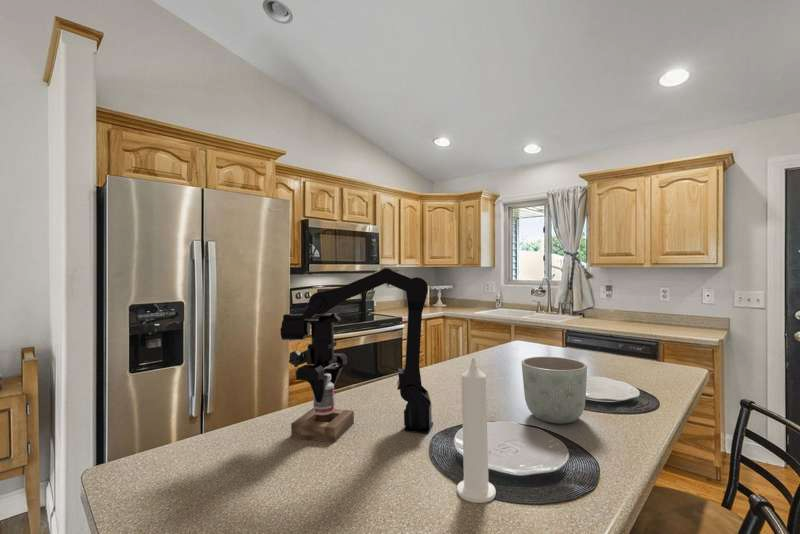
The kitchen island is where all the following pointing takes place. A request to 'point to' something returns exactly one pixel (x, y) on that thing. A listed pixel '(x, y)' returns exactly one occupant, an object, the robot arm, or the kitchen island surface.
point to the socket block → (322, 425)
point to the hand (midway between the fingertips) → (324, 398)
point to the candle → (475, 438)
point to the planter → (555, 388)
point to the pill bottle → (325, 399)
